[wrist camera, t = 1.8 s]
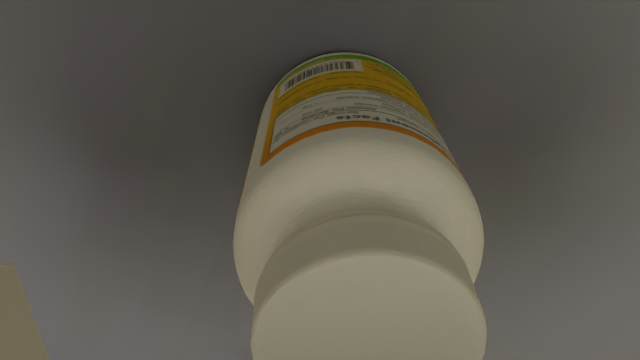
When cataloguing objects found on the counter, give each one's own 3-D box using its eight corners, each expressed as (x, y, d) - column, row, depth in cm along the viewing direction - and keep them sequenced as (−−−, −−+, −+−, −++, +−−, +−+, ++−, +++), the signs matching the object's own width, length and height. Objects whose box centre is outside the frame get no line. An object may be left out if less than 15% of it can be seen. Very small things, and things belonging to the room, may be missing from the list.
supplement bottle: (366, 225, 19) (408, 490, 11) (232, 156, 18) (155, 393, 9) (459, 103, 17) (604, 307, 8) (313, 14, 16) (311, 150, 7)
